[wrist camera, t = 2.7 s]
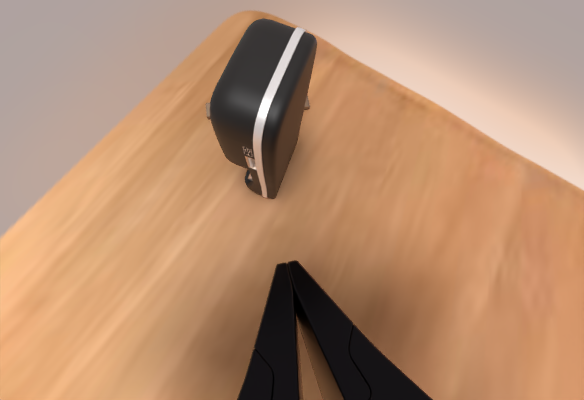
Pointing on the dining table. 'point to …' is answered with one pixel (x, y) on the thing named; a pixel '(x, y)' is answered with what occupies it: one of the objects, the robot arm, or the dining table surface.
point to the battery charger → (263, 101)
